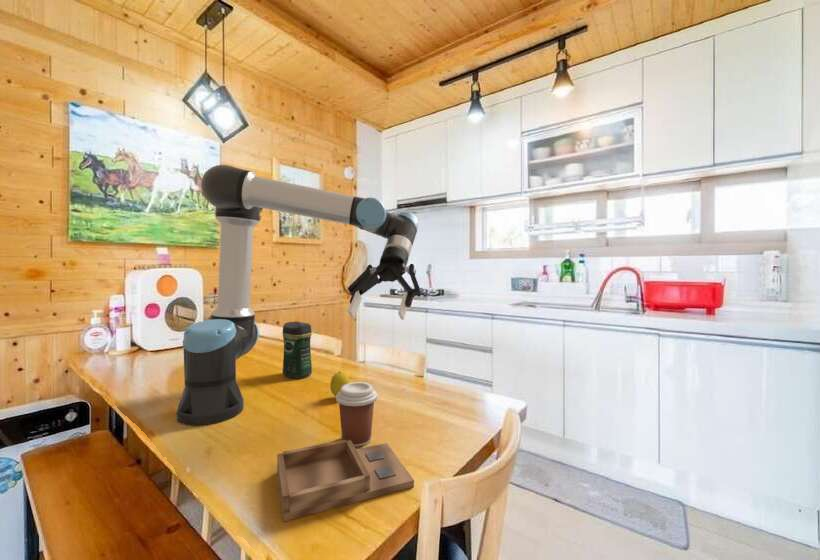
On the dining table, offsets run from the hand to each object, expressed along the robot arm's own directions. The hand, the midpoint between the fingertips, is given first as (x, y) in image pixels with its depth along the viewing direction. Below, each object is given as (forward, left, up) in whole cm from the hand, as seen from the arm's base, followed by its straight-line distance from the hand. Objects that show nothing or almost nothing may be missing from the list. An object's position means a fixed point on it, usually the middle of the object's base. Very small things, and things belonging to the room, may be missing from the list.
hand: (375, 315), depth 88 cm
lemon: (-5, +17, -27) cm, 32 cm away
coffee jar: (-14, +43, -27) cm, 52 cm away
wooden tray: (-13, -21, -26) cm, 36 cm away
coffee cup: (-7, -8, -27) cm, 29 cm away
